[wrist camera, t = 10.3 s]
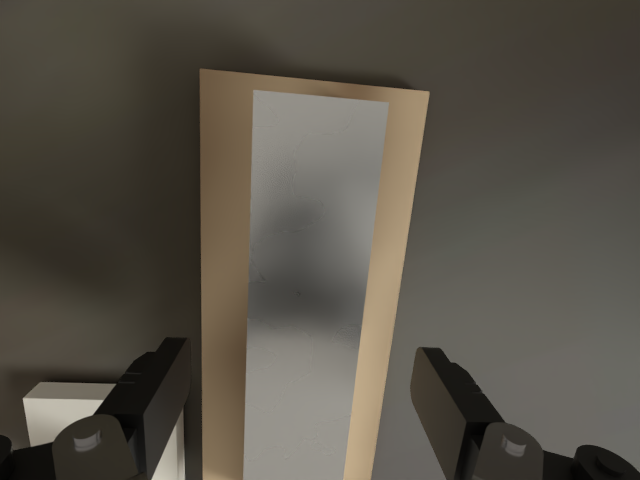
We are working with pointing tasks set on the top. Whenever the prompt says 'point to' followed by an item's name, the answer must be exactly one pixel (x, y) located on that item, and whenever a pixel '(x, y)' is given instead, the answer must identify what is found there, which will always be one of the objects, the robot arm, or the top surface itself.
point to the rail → (307, 278)
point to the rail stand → (82, 401)
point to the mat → (233, 257)
